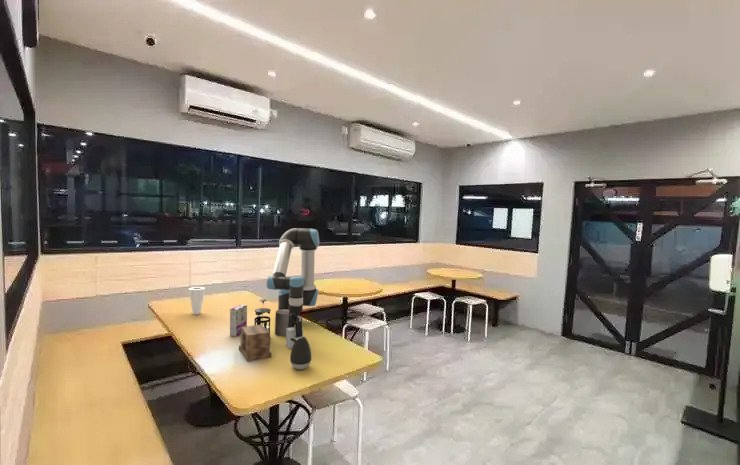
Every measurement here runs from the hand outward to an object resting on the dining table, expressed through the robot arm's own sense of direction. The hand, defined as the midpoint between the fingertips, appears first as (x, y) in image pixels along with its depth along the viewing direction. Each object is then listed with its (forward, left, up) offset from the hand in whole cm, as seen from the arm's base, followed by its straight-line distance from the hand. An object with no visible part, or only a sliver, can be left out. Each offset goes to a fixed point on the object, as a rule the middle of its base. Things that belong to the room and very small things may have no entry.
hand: (294, 344), depth 197 cm
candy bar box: (+22, -34, -1) cm, 41 cm away
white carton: (0, 0, -1) cm, 1 cm away
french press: (+12, -20, -1) cm, 24 cm away
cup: (+38, -88, -1) cm, 96 cm away
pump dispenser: (+7, +27, -1) cm, 28 cm away
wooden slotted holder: (+21, 0, -1) cm, 22 cm away
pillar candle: (-2, -23, -1) cm, 23 cm away
